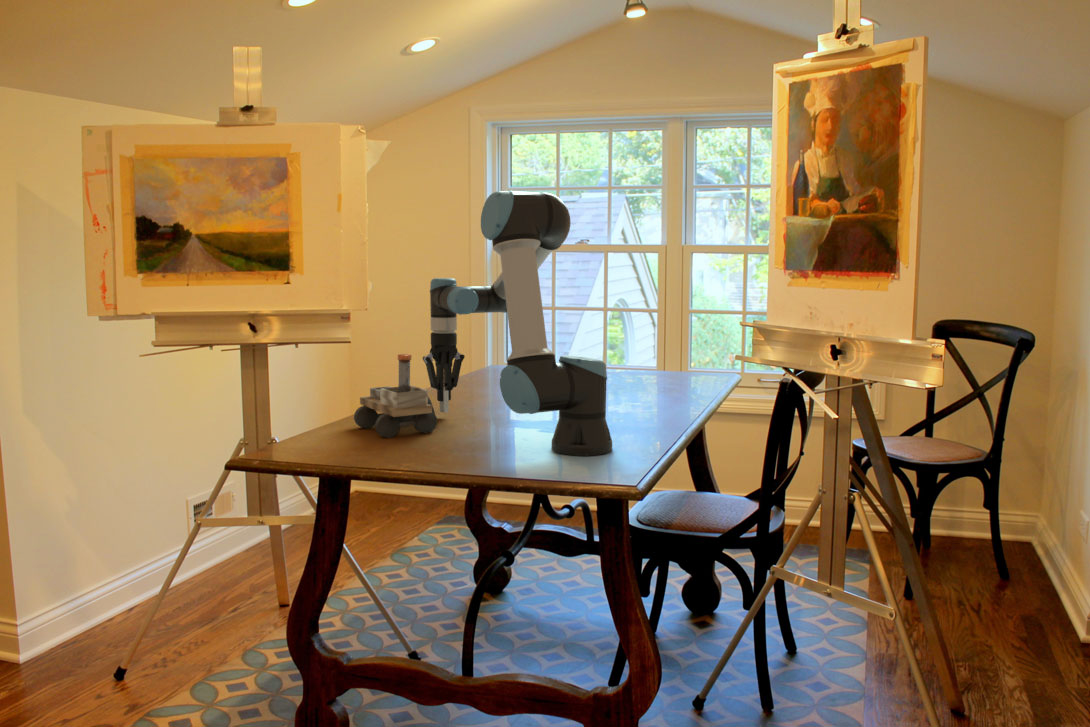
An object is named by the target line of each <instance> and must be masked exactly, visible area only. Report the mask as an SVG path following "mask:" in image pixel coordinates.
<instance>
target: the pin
mask: <svg viewBox="0 0 1090 727" xmlns="http://www.w3.org/2000/svg"><path fill="white" fill-rule="evenodd" d="M397 360H398V387H399V390H398V393H401V392H410V386H411V361H412V354H408V353H402V354H397Z"/></svg>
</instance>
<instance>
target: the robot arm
mask: <svg viewBox="0 0 1090 727" xmlns="http://www.w3.org/2000/svg"><path fill="white" fill-rule="evenodd" d="M481 210H482V211H481V215H480V229H481V233H482V234H483V237H484V239H485V240H488V241H492V249H493V251H494V252H495V253H497V254H498V255H499V256H500V262H501V263H500V264H501V273H500V274H499V276H497V279H496V280H495V281H494V282H493V284H492V285H485V286H484V285H479V286H478V285H477V286H471V285H470V286H469V285H468V286H465V285H464V286H458V285H457V280H456V279H455V278H454V277H453V278H451V277H450V278H449V277H446V278H445V277H442V278H440V277H435V278H434V277H433V278H432V279H431V281H430V288H429V289H430V290H429V294H430V295H429V296H430V299H429V301H430V305H429V306H430V330H431V333H430V346H431V348H430V350H429V354H426V356H425V355H424V356H422V360H423V362H424V363H425V366H426V371H427V376H428V379H429V385H430V387H431V388H432V389H434V390H436V396H437V397H436V399H437V402H439V412H441V413H444V414H447V413H449V411H450V410H449V409H450V408H449V405H450V404H449V402H450V401H451V400H452V391H453V389H454V388H456V387H458V383H459V377H460V373H461V367H462V363H463V361H464V359H465V355H464V354H462V353H460V351H459V352H458V348H457V344H458V342H457V341H458V338H457V337H458V336H457V335H458V334H457V332H456V331H457V330H458V327H457V325H458V321H457V319H458V318H457V317H458V316H457V315H460V316H462V315H465V316H466V315H470V314H482V313H484V314H485V313H487V314H488V313H503V314H504V313H506V314H507V320H508V329H509V331H508V332H509V337H510V338H509V339H510V346H511V353H510V354H509V356H508V357H507V358H506V364H507V365H506V366H504V367H503V368H502V370H501V372H500V378H499V388H500V393H501V396H502V398H503V400H504V403H505V404H506V405H507V407H508V408H509V409H510V410H511V411H512V412H514V413H516V414H519V415H523V414H524V415H525V414H529V415H533V414H538V413H549V412H556V411H558V420H557V423H556V426H555V430H554V432H553V436H552V438H551V450H552V451H553V452H556V453H558V454H563V455H569V456H579V457H580V456H583V457H585V456H586V457H589V456H599V455H604V454H608V453H611V452H612V450H613V440H612V437H611V433H610V429H609V426H608V423H607V418H606V417H607V416H606V415H607V380H608V376H607V365H606V363H605V362H604V361H603V360H601V359H596V358H591V357H583V356H577V355H576V356H574V355H561V356H560V357H559V358H558V362H556V355H555V353H554V352H553V351H552V350H550V349H549V347H548V340H547V333H546V325H545V316H544V308H543V300H542V292H541V286H540V278H539V269H540V267H541V266H542V264H544V262H545V260H546V259H547V258H548V257H549V255H550V254H551V253H552V251H556V250H558V249H559V248H561V247H562V245H563V244H564V242H565V241H566V239H567V238H568V235H569V233H570V230H571V229H570V228H571V215H570V212H569V209H568V207H567V206H566V204H565V203H564V201H563V200H562V199H561V198H560V197H558V196H557V195H555V194H553V193H549V192H543V191H542V192H533V191H519V190H518V191H517V190H504V191H503V190H500V191H498V190H497V191H494V192H492V193H491V194H490V195H489V196H488V197H487V198H486V200H485V202H484V205H483V207H482V209H481ZM433 362H435V363H433ZM434 364H435V366H434Z"/></svg>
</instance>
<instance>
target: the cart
mask: <svg viewBox="0 0 1090 727" xmlns="http://www.w3.org/2000/svg"><path fill="white" fill-rule="evenodd" d="M369 389H370V390H369V394H370V395H369V396H360V397H359V405H361V406H360V407H357V408H356V410H355V412H354V414H353V420H354V422H355V424H356V425H357V426H358V427H360V428H363V429H371V428H373V427H375V431H376V433H377V434H378V435H379V436H381V437H383V438H386V439H391V438H393V437H395V436H396V435H397V434H398V433H399V431H400V429H401V427H407V426H409V427H410V426H413V427H414V429H415V430H416V431H418V432H421V433H423V434H428V433H429V434H430V433H432V432H433V431H434V430H435V429H436V427H437V425H438V418H437V415H436V413H435V414H434V413H433V412H432V406H433V404H432V405H429V404H428V397H429V394H428V391H429V390H427V389H425V388H421V387H417V386H414V385H410V392H401V393H398V390H399V386H389V385H387V386H379V387H370V388H369ZM378 412H380V413H378ZM414 415H415V416H414ZM413 416H414V419H413ZM412 419H413V421H411V420H412Z"/></svg>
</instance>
